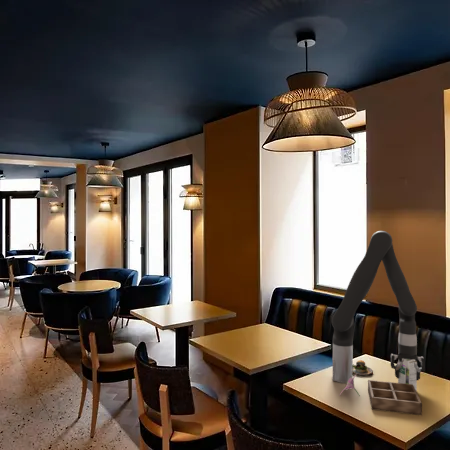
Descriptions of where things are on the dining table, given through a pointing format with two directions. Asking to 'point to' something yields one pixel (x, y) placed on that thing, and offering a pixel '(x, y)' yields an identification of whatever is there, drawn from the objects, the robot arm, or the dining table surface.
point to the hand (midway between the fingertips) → (407, 378)
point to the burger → (361, 368)
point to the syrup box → (408, 372)
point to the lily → (350, 384)
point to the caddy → (394, 397)
